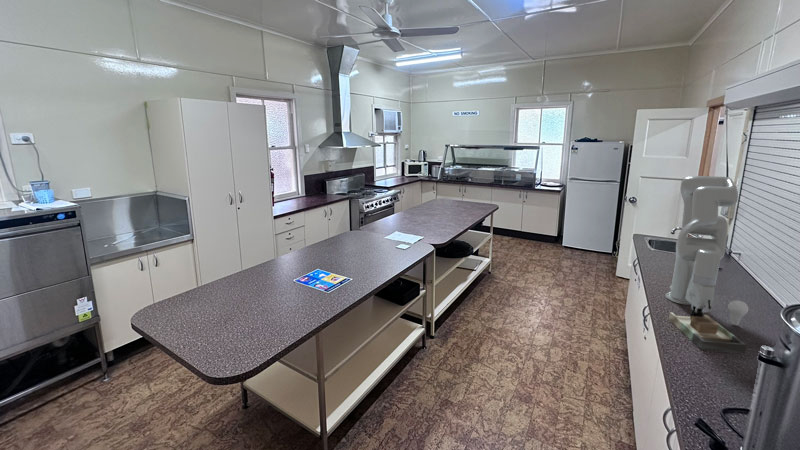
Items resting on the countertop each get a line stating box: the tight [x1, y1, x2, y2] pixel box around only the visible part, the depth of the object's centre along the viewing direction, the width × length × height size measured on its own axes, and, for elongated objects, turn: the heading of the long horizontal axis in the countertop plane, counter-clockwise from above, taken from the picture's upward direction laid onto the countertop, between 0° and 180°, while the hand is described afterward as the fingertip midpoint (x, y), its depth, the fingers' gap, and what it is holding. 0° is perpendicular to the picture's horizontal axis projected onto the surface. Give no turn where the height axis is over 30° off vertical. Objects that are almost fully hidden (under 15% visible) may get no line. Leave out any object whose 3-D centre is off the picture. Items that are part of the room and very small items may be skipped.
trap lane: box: [668, 312, 748, 354], centre depth 140 cm, size 23×14×4 cm, turn 169°
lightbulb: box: [727, 300, 749, 326], centre depth 146 cm, size 6×6×11 cm
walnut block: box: [690, 316, 718, 334], centre depth 140 cm, size 6×6×4 cm
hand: (695, 320), depth 145 cm, fingers closed
